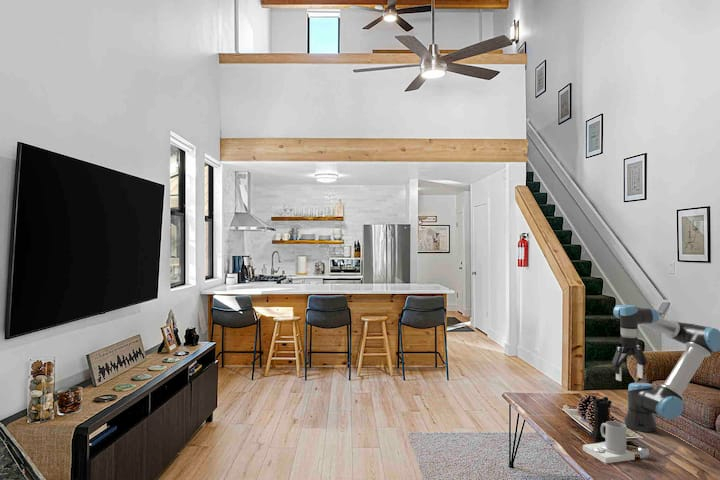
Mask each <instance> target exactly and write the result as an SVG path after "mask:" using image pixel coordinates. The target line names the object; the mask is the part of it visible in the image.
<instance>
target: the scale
mask: <svg viewBox="0 0 720 480" xmlns="http://www.w3.org/2000/svg"><path fill="white" fill-rule="evenodd" d="M582 451H583V452H585V453H587V454H589V455H590V456H592V457H593V458H595V459H598V460H599V461H600V462H603V463H604V464H611V463H618V462H627V461H634V460H635V459H636V458H635V457H636V456H635V455H636V454H635V453H633V451H632V452H631V450H628V449H626V451H625V452H616V451H612V450H609V449H608V448H606V446H605V442H596V443H589V444H583V445H582Z"/></svg>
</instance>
